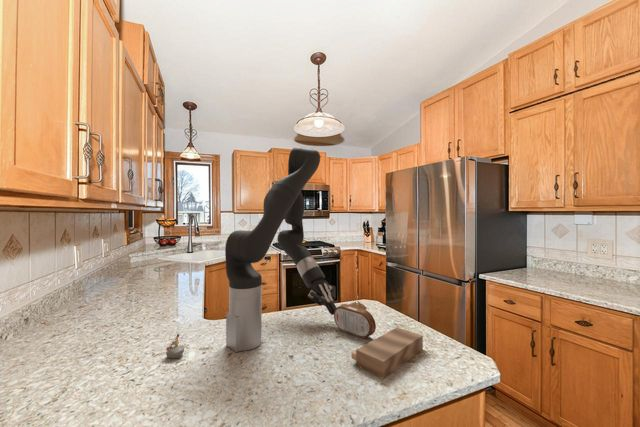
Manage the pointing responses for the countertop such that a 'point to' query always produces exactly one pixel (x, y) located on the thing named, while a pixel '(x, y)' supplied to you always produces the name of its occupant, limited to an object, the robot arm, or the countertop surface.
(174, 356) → the figurine
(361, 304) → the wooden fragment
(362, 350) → the walnut plank
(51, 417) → the countertop surface
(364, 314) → the tin
